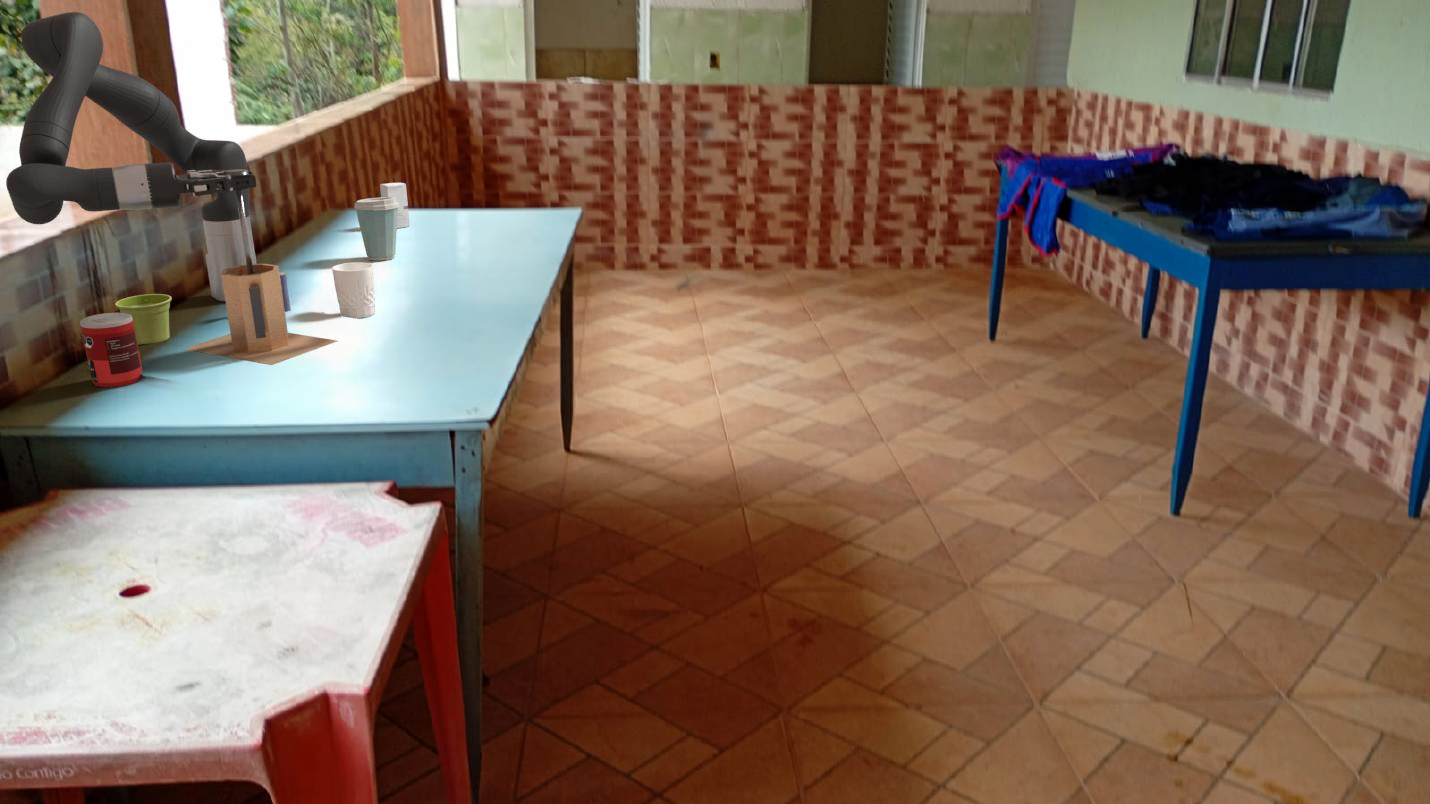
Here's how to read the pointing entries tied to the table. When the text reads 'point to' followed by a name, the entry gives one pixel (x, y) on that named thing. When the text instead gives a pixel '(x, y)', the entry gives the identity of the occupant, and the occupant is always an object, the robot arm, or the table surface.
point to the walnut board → (294, 348)
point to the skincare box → (401, 197)
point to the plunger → (242, 219)
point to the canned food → (111, 349)
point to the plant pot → (148, 316)
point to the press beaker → (255, 308)
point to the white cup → (355, 289)
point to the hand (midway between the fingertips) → (253, 178)
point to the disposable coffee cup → (378, 226)
